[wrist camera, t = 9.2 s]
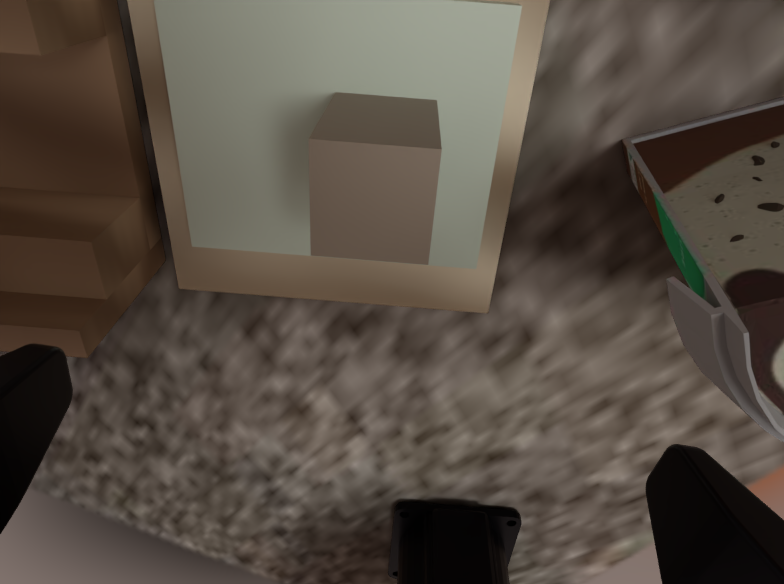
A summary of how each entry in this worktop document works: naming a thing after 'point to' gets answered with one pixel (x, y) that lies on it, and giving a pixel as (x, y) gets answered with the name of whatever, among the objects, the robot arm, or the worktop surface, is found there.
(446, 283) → the mat
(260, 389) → the worktop surface
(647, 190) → the food container
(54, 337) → the box
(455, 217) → the lid
